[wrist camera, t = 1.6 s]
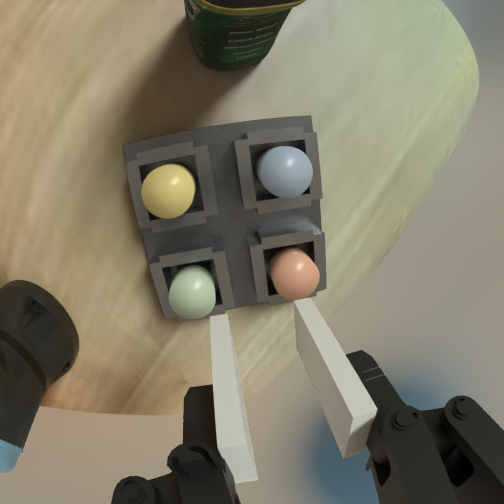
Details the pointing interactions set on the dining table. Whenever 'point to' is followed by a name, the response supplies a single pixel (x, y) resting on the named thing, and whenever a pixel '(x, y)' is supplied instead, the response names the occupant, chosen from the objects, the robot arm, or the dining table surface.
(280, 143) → the button panel
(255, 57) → the coffee jar
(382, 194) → the dining table surface
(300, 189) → the slate button
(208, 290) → the sage button
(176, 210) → the mustard button
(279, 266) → the terracotta button
